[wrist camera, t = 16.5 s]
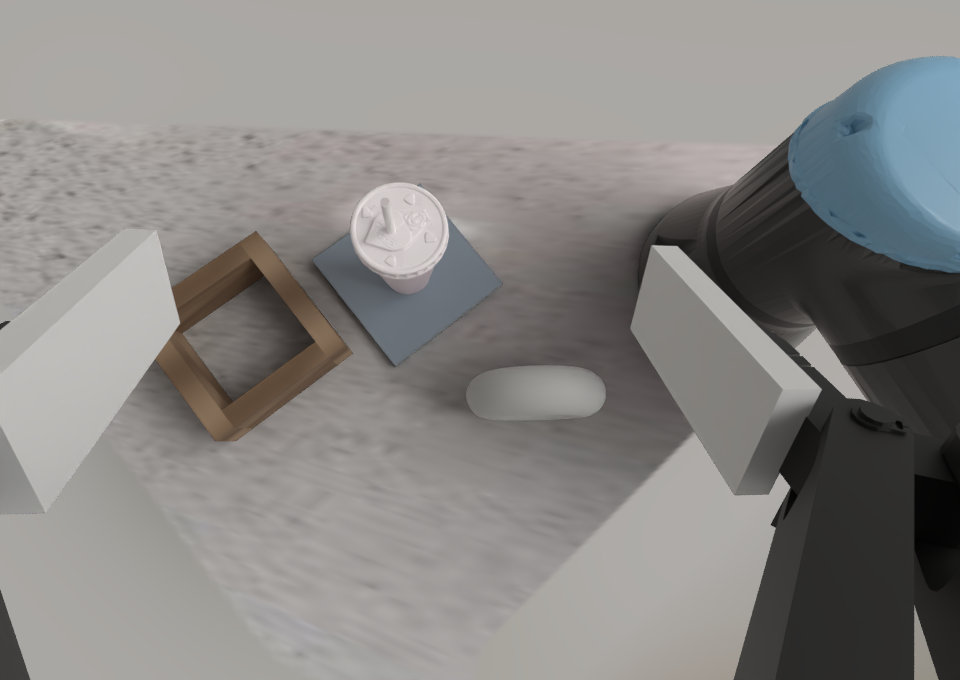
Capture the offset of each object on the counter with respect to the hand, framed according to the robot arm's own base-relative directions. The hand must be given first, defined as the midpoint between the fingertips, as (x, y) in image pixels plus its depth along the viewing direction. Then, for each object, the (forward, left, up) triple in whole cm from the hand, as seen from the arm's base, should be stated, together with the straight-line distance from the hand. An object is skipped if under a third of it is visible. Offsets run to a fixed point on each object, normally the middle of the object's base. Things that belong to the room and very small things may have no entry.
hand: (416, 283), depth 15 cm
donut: (-6, -5, -30) cm, 31 cm away
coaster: (+8, -4, -29) cm, 31 cm away
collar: (+11, +9, -29) cm, 33 cm away
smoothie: (+8, -4, -29) cm, 30 cm away
